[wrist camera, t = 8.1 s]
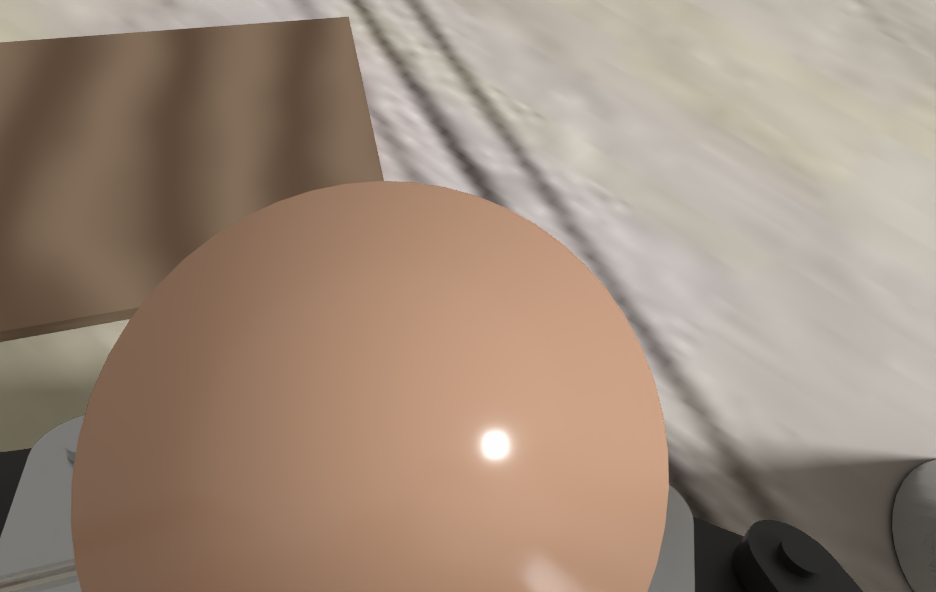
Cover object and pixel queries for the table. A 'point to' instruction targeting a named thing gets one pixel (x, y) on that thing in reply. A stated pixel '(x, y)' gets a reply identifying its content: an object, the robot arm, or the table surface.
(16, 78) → the ware board
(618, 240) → the table surface
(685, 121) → the table surface
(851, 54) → the table surface
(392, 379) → the peg
